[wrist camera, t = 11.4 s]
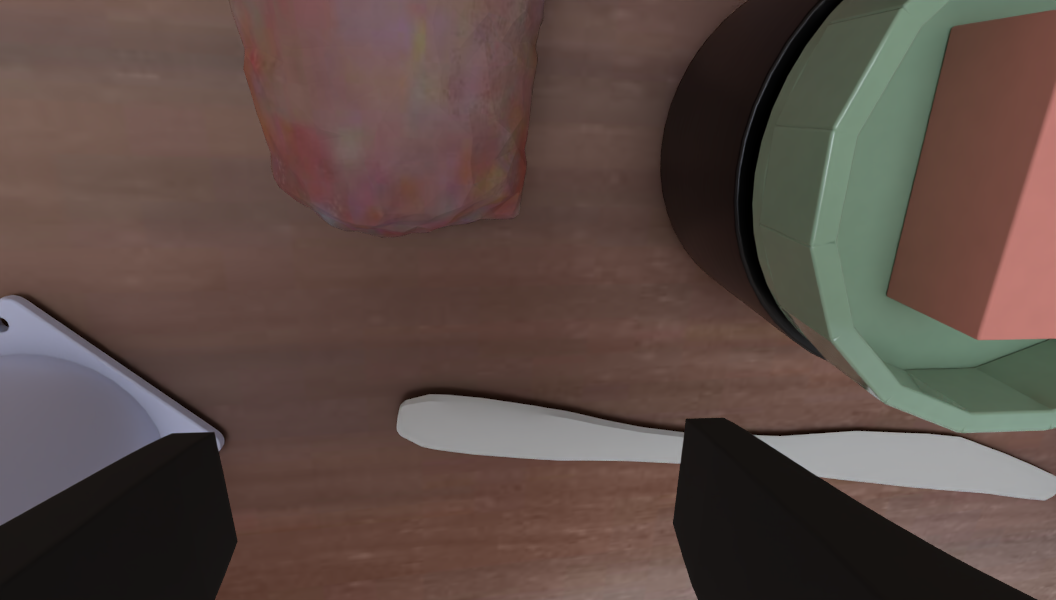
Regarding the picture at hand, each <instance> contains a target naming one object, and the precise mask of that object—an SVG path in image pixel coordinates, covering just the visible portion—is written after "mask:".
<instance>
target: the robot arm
mask: <svg viewBox="0 0 1056 600" xmlns="http://www.w3.org/2000/svg"><path fill="white" fill-rule="evenodd" d="M1 318H3V319H5V320H6V321H7V322H8V325H9V327H7V326H5V325H4V324H3V323H2V321H1ZM223 445H224V437H223V435H222V434H221V433H220V432H219V431H218V430H217V429H215V428H214V427H212V426H211V425H209V424H208V423H206V422H205V421H204V420H202V419H201V418H199V417H198V416H196V415H195V414H193V413H192V412H190V411H189V410H187V409H186V408H184V407H183V406H182V405H180V404H179V403H177V402H176V401H174V400H173V399H171V398H170V397H168V396H167V395H165V394H164V393H162V392H161V391H160V390H158V389H157V388H155V387H154V386H152V385H151V384H149V383H148V382H146V381H145V380H143V379H142V378H141V377H139V376H138V375H136V374H135V373H133V372H132V371H130V370H129V369H127V368H126V367H124V366H123V365H121V364H120V363H119V362H117V361H116V360H114V359H113V358H111V357H110V356H108V355H107V354H105V353H104V352H102V351H101V350H100V349H98V348H97V347H95V346H94V345H92V344H91V343H89V342H88V341H86V340H85V339H83V338H82V337H80V336H79V335H78V334H76V333H75V332H73V331H72V330H70V329H69V328H67V327H66V326H64V325H63V324H61V323H60V322H59V321H57V320H56V319H54V318H53V317H51V316H50V315H48V314H47V313H45V312H44V311H42V310H41V309H39V308H38V307H37V306H35V305H34V304H32V303H31V302H29V301H28V300H26V299H24V298H22V297H20V296H16V295H9V296H5V297H3V298H0V600H215V598H216V595H217V593H218V590H219V588H220V585H221V583H222V581H223V578H224V576H225V573H226V570H227V568H228V565H229V562H230V560H231V557H232V554H233V552H234V549H235V546H236V544H237V536H236V532H235V527H234V522H233V517H232V513H231V508H230V503H229V498H228V494H227V489H226V484H225V479H224V475H223V470H222V465H221V460H220V456H219V451H220V450H221V448H222V447H223ZM673 525H674V529H675V532H676V535H677V539H678V542H679V546H680V549H681V552H682V556H683V559H684V562H685V565H686V568H687V571H688V574H689V578H690V581H691V584H692V587H693V589H694V591H695V594H696V596H697V598H698V600H1037V599H1035V598H1033V597H1031V596H1029V595H1027V594H1025V593H1023V592H1021V591H1019V590H1017V589H1015V588H1013V587H1011V586H1009V585H1007V584H1005V583H1003V582H1001V581H999V580H997V579H995V578H993V577H991V576H989V575H987V574H985V573H983V572H981V571H979V570H977V569H975V568H973V567H972V566H970V565H968V564H966V563H964V562H962V561H960V560H959V559H957V558H955V557H953V556H951V555H949V554H947V553H946V552H944V551H942V550H940V549H938V548H936V547H935V546H933V545H931V544H929V543H928V542H926V541H924V540H922V539H921V538H919V537H917V536H915V535H914V534H912V533H910V532H909V531H907V530H905V529H903V528H902V527H900V526H898V525H896V524H895V523H893V522H891V521H889V520H888V519H886V518H884V517H882V516H881V515H879V514H877V513H876V512H874V511H873V510H871V509H869V508H868V507H866V506H864V505H863V504H861V503H859V502H858V501H856V500H854V499H853V498H851V497H850V496H848V495H846V494H845V493H843V492H841V491H840V490H838V489H837V488H835V487H833V486H832V485H830V484H829V483H827V482H826V481H824V480H822V479H821V478H819V477H818V476H816V475H815V474H813V473H811V472H810V471H808V470H807V469H805V468H804V467H802V466H801V465H799V464H797V463H796V462H794V461H793V460H791V459H790V458H788V457H787V456H785V455H784V454H782V453H781V452H779V451H777V450H776V449H774V448H773V447H771V446H770V445H768V444H767V443H765V442H763V441H762V440H760V439H759V438H757V437H756V436H754V435H752V434H751V433H749V432H748V431H746V430H744V429H743V428H741V427H739V426H738V425H736V424H734V423H732V422H731V421H729V420H727V419H725V418H698V419H686V423H685V431H684V439H683V447H682V455H681V463H680V471H679V479H678V487H677V495H676V503H675V511H674V519H673Z"/></svg>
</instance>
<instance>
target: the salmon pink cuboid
mask: <svg viewBox="0 0 1056 600" xmlns="http://www.w3.org/2000/svg"><path fill="white" fill-rule="evenodd" d="M887 297H889V298H891V299H893V300H896V301H898V302H900V303H902V304H904V305H906V306H908V307H910V308H912V309H914V310H916V311H918V312H920V313H922V314H925V315H927V316H929V317H931V318H933V319H935V320H937V321H939V322H941V323H943V324H945V325H947V326H949V327H951V328H954V329H956V330H958V331H960V332H962V333H964V334H966V335H968V336H970V337H972V338H974V339H976V340H1016V339H1056V10H1050V11H1044V12H1038V13H1032V14H1026V15H1020V16H1013V17H1007V18H1001V19H995V20H989V21H983V22H976V23H970V24H964V25H958V26H954V27H952V29H951V31H950V36H949V40H948V44H947V48H946V52H945V56H944V60H943V64H942V68H941V73H940V77H939V81H938V85H937V89H936V93H935V97H934V101H933V106H932V110H931V114H930V118H929V122H928V126H927V130H926V134H925V138H924V143H923V147H922V151H921V155H920V159H919V163H918V167H917V171H916V176H915V180H914V184H913V188H912V192H911V196H910V200H909V204H908V208H907V213H906V217H905V221H904V225H903V229H902V233H901V237H900V241H899V246H898V250H897V254H896V258H895V262H894V266H893V270H892V274H891V278H890V283H889V287H888V291H887Z"/></svg>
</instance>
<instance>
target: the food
mask: <svg viewBox="0 0 1056 600" xmlns="http://www.w3.org/2000/svg"><path fill="white" fill-rule="evenodd" d="M229 2H230V7H231V11H232V14H233V17H234V20H235V23H236V26H237V28H238V31H239V34H240V37H241V39H242V42H243V45H244V48H245V58H244V72H245V75H246V78H247V81H248V85H249V88H250V91H251V94H252V98H253V101H254V105H255V109H256V112H257V115H258V118H259V120H260V123H261V126H262V129H263V132H264V135H265V138H266V141H267V144H268V147H269V150H270V152H271V169H272V173H273V176H274V179H275V181H276V182H277V184H278V186H279V187H280V188H281V189H282V190H284V191H285V192H286V193H287V194H288V195H290V196H291V197H292V198H293V199H295V200H296V201H297V202H299V203H301V204H303V205H305V206H307V207H309V208H311V209H312V210H313V211H314V212H315V213H316V214H317V215H318V216H320V217H321V218H322V219H323V220H324V221H326V222H327V223H328V224H330V225H331V226H333V227H336V228H339V229H341V230H344V231H357V232H362V233H366V234H370V235H374V236H379V237H398V236H403V235H407V234H410V233H428V232H430V231H433V230H435V229H437V228H440V227H446V226H452V225H457V224H468V223H471V222H474V221H476V220H479V219H512V218H514V217H515V216H516V215H518V214H519V212H520V204H521V196H522V189H523V184H524V179H525V174H526V167H527V161H526V155H525V144H526V140H527V135H528V128H529V119H530V111H531V102H532V92H533V84H534V78H535V72H536V67H537V61H538V57H537V52H536V48H535V46H536V42H537V38H538V33H539V29H540V25H541V23H542V21H543V14H544V0H229Z"/></svg>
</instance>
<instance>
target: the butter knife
mask: <svg viewBox="0 0 1056 600" xmlns="http://www.w3.org/2000/svg"><path fill="white" fill-rule="evenodd" d="M397 432H398V433H399V434H400V435H401V436H402V437H404V438H406V439H408V440H410V441H412V442H414V443H416V444H418V445H420V446H422V447H426V448H431V449H436V450H442V451H450V452H458V453H466V454H474V455H487V456H500V457H513V458H527V459H543V460H596V461H639V462H659V463H679V464H680V463H681V455H682V447H683V439H684V432H677V431H669V430H661V429H653V428H646V427H638V426H633V425H628V424H623V423H618V422H613V421H608V420H604V419H599V418H595V417H591V416H586V415H582V414H578V413H573V412H569V411H563V410H557V409H551V408H545V407H539V406H533V405H527V404H520V403H513V402H506V401H500V400H493V399H486V398H478V397H467V396H456V395H441V394H428V395H424V396H420V397H416V398H412V399H408V400H405V401H404V402H403V403H402V404H401V405H400V408H399V413H398V419H397ZM754 436H756V437H757V438H759V439H760V440H762V441H763V442H765V443H767V444H768V445H770V446H771V447H773V448H774V449H776V450H777V451H779V452H781V453H782V454H784V455H785V456H787V457H788V458H790V459H791V460H793V461H794V462H796V463H797V464H799V465H801V466H802V467H804V468H805V469H807V470H808V471H810V472H811V473H813V474H815V475H816V476H818V477H825V478H833V479H841V480H850V481H859V482H869V483H878V484H887V485H896V486H905V487H916V488H927V489H938V490H950V491H963V492H975V493H988V494H995V495H1002V496H1009V497H1016V498H1025V499H1035V500H1047V499H1049V498H1050V497H1052V496H1054V495H1055V494H1056V476H1054V475H1052V474H1050V473H1048V472H1046V471H1043V470H1041V469H1039V468H1037V467H1035V466H1033V465H1031V464H1028V463H1026V462H1024V461H1021V460H1019V459H1017V458H1014V457H1012V456H1009V455H1007V454H1005V453H1002V452H999V451H997V450H994V449H991V448H989V447H986V446H983V445H980V444H978V443H975V442H972V441H970V440H967V439H964V438H962V437H955V436H945V435H935V434H920V433H895V432H869V431H847V432H833V433H819V434H804V435H790V436H765V435H754Z"/></svg>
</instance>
